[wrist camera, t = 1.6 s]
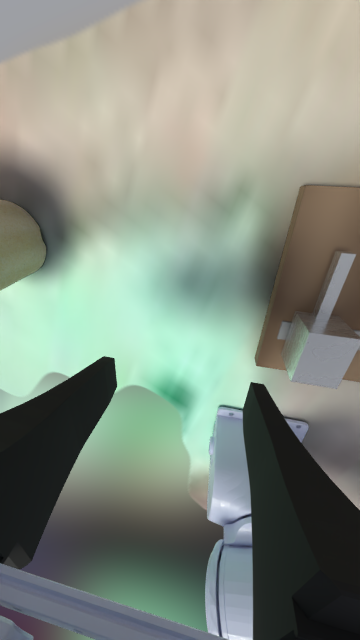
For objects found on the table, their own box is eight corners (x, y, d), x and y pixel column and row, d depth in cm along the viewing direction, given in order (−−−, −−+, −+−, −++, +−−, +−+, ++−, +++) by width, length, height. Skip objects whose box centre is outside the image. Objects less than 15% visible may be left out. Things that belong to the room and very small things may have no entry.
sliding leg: (280, 354, 18) (290, 381, 15) (316, 248, 14) (338, 258, 11) (319, 360, 18) (336, 388, 15) (367, 252, 14) (402, 264, 11)
